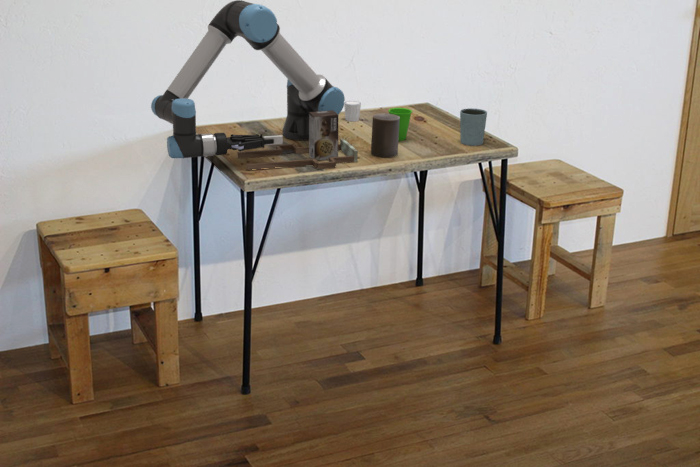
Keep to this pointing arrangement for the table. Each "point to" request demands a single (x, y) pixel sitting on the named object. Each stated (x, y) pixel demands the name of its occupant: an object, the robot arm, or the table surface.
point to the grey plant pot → (472, 126)
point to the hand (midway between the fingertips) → (281, 139)
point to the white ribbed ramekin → (352, 110)
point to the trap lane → (291, 148)
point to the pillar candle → (385, 135)
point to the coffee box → (323, 134)
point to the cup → (402, 120)
